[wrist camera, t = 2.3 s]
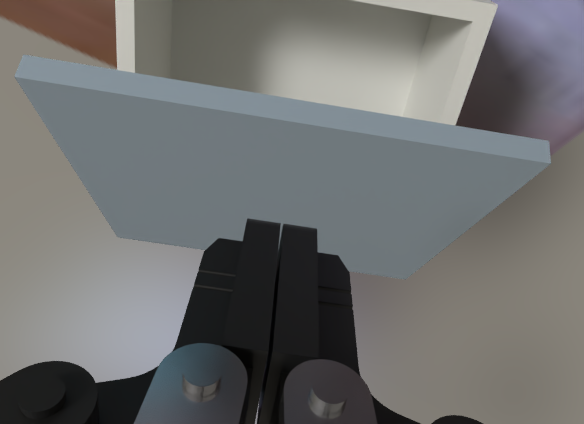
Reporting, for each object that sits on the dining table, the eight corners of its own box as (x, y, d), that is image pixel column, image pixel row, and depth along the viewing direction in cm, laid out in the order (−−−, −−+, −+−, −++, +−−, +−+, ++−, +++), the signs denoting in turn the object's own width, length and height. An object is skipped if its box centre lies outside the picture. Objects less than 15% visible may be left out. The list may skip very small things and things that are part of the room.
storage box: (162, -75, 27) (113, -64, 20) (453, -22, 28) (498, 5, 21) (159, 158, 34) (121, 222, 28) (388, 194, 35) (405, 264, 29)
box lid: (23, 54, 15) (14, 76, 14) (548, 140, 16) (550, 163, 15) (121, 223, 28) (117, 237, 27) (406, 265, 29) (405, 279, 28)
